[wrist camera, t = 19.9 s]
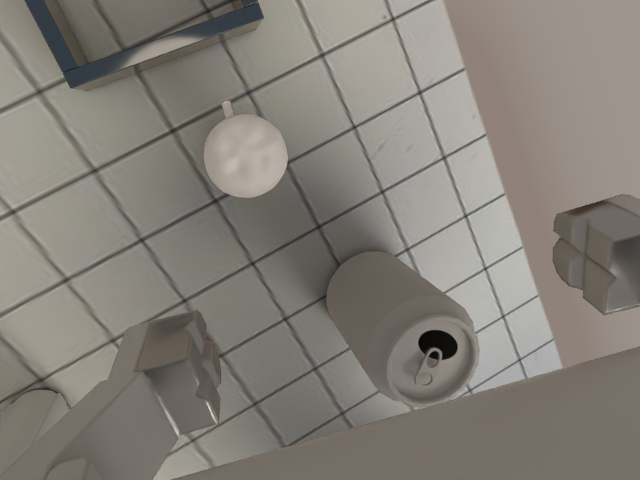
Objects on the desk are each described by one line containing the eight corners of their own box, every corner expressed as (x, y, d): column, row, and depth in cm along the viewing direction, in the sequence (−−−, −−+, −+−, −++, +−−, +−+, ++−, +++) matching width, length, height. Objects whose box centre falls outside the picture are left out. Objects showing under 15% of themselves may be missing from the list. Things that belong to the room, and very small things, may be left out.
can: (422, 268, 39) (512, 332, 28) (380, 343, 40) (450, 432, 29) (350, 233, 37) (417, 286, 25) (307, 313, 38) (353, 399, 26)
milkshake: (249, 92, 32) (269, 85, 23) (276, 164, 34) (305, 185, 24) (187, 115, 31) (181, 117, 22) (218, 187, 33) (225, 217, 24)
